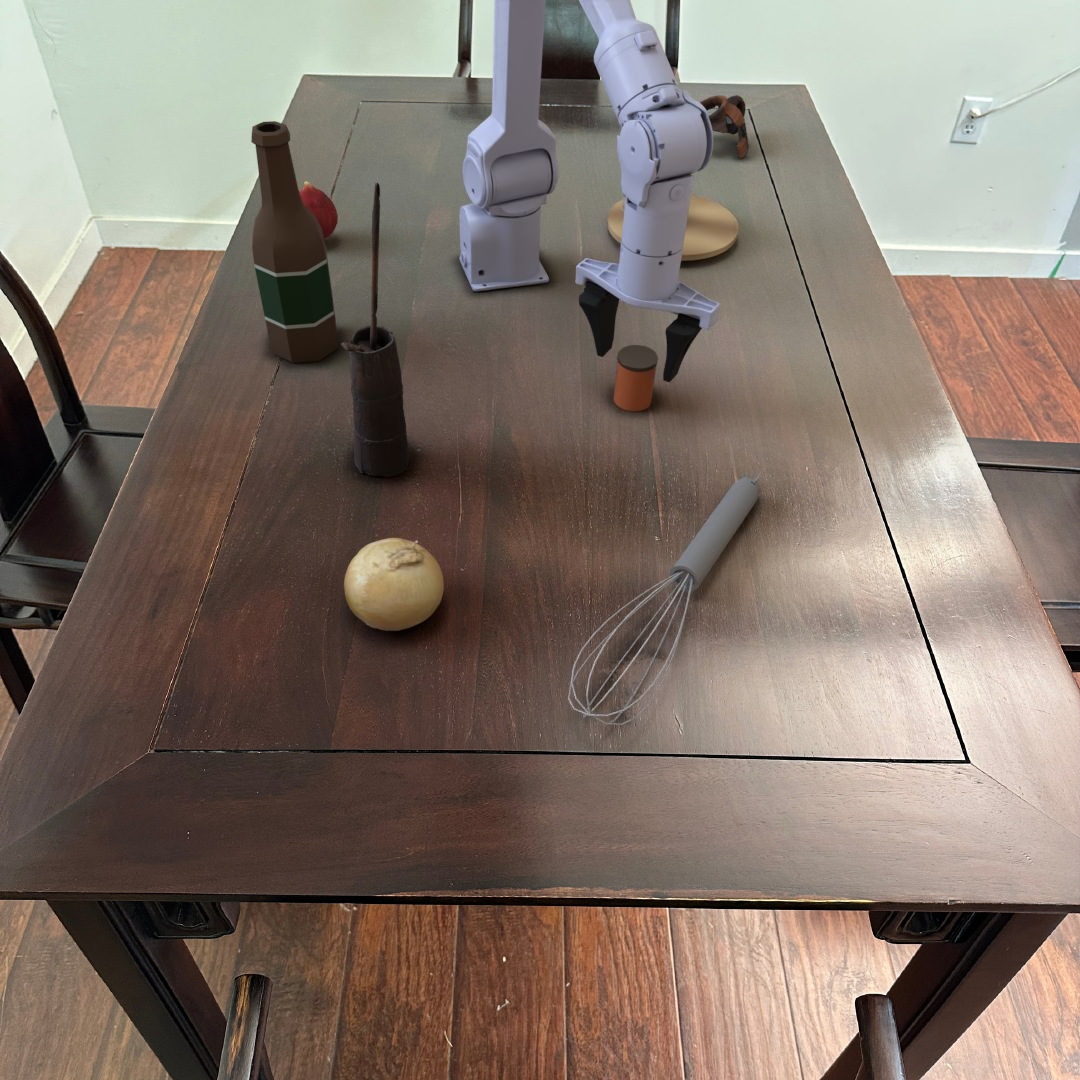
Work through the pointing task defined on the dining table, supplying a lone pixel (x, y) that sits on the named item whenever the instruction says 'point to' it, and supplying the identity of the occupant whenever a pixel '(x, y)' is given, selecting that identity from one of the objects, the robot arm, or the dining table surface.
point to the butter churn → (377, 386)
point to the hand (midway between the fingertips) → (636, 364)
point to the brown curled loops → (729, 118)
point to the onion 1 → (320, 208)
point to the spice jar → (635, 377)
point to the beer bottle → (290, 256)
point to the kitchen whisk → (683, 580)
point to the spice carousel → (692, 228)
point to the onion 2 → (393, 584)
